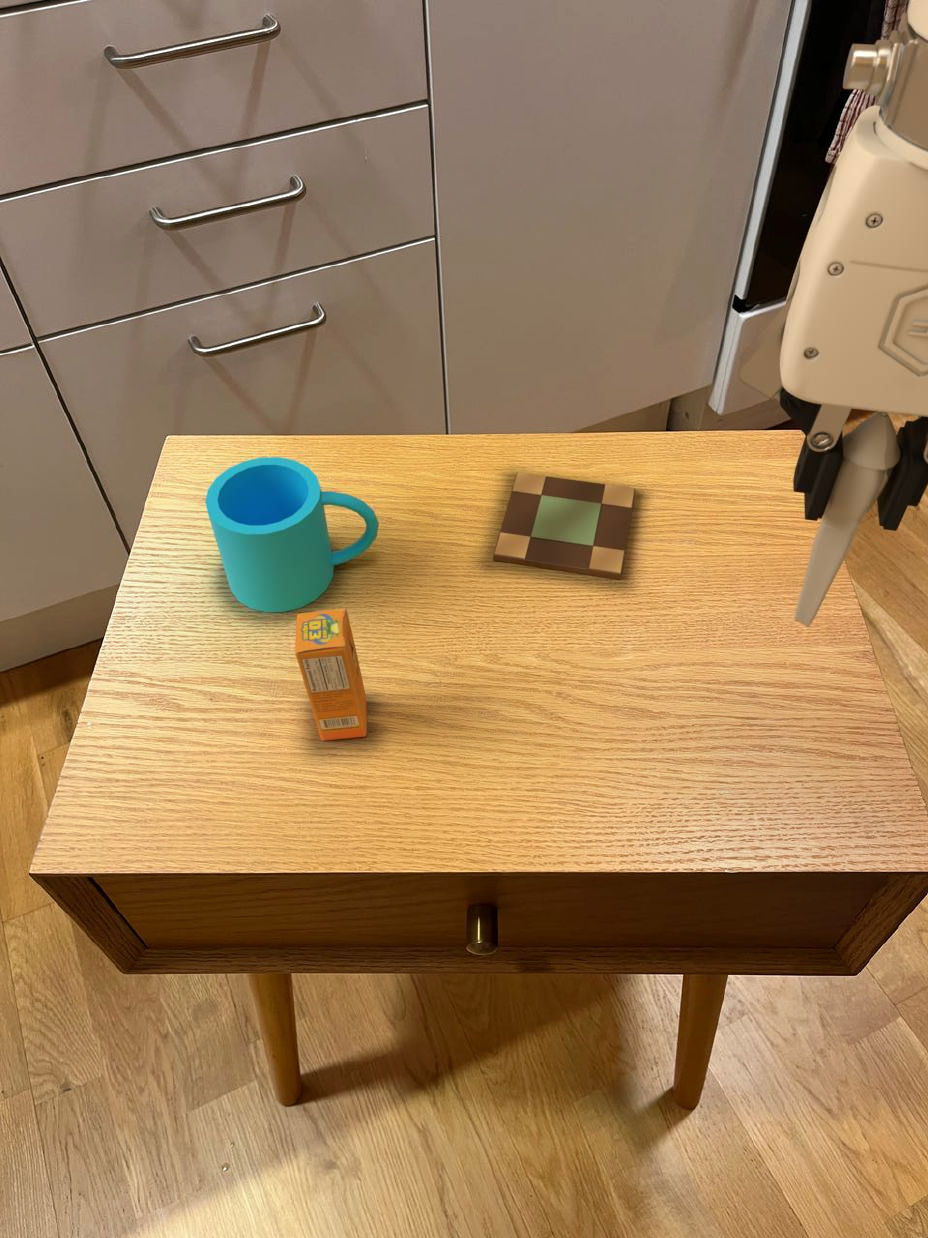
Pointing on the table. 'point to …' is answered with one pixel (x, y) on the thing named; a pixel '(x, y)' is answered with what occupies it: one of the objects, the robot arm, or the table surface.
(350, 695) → the supplement box
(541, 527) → the board
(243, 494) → the mug
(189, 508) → the table surface
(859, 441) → the beige tapered rod
